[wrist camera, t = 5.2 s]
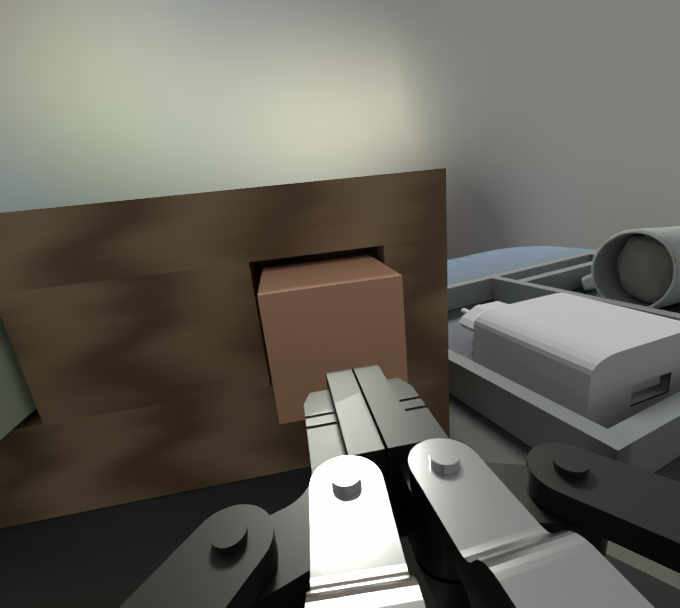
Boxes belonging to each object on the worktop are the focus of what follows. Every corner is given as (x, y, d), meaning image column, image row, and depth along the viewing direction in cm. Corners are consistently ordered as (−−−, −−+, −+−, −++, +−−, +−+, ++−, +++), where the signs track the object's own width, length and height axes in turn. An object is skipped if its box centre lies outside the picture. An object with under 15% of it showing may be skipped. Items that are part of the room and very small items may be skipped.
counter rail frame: (610, 500, 15) (618, 450, 15) (355, 331, 37) (353, 307, 36) (898, 316, 28) (910, 285, 28) (586, 270, 49) (588, 252, 49)
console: (-136, 555, 17) (-334, 246, 12) (-6, 442, 24) (-102, 228, 20) (449, 438, 20) (445, 168, 16) (402, 372, 28) (391, 177, 24)
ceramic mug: (729, 304, 34) (746, 219, 32) (669, 322, 31) (682, 232, 29) (613, 284, 43) (620, 218, 41) (560, 296, 41) (564, 227, 39)
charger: (509, 323, 35) (700, 396, 22) (427, 344, 33) (584, 443, 19) (511, 275, 34) (715, 322, 20) (425, 293, 31) (594, 360, 18)
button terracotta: (279, 424, 14) (257, 295, 12) (279, 365, 18) (263, 267, 17) (408, 400, 14) (402, 275, 13) (376, 350, 19) (368, 254, 17)
